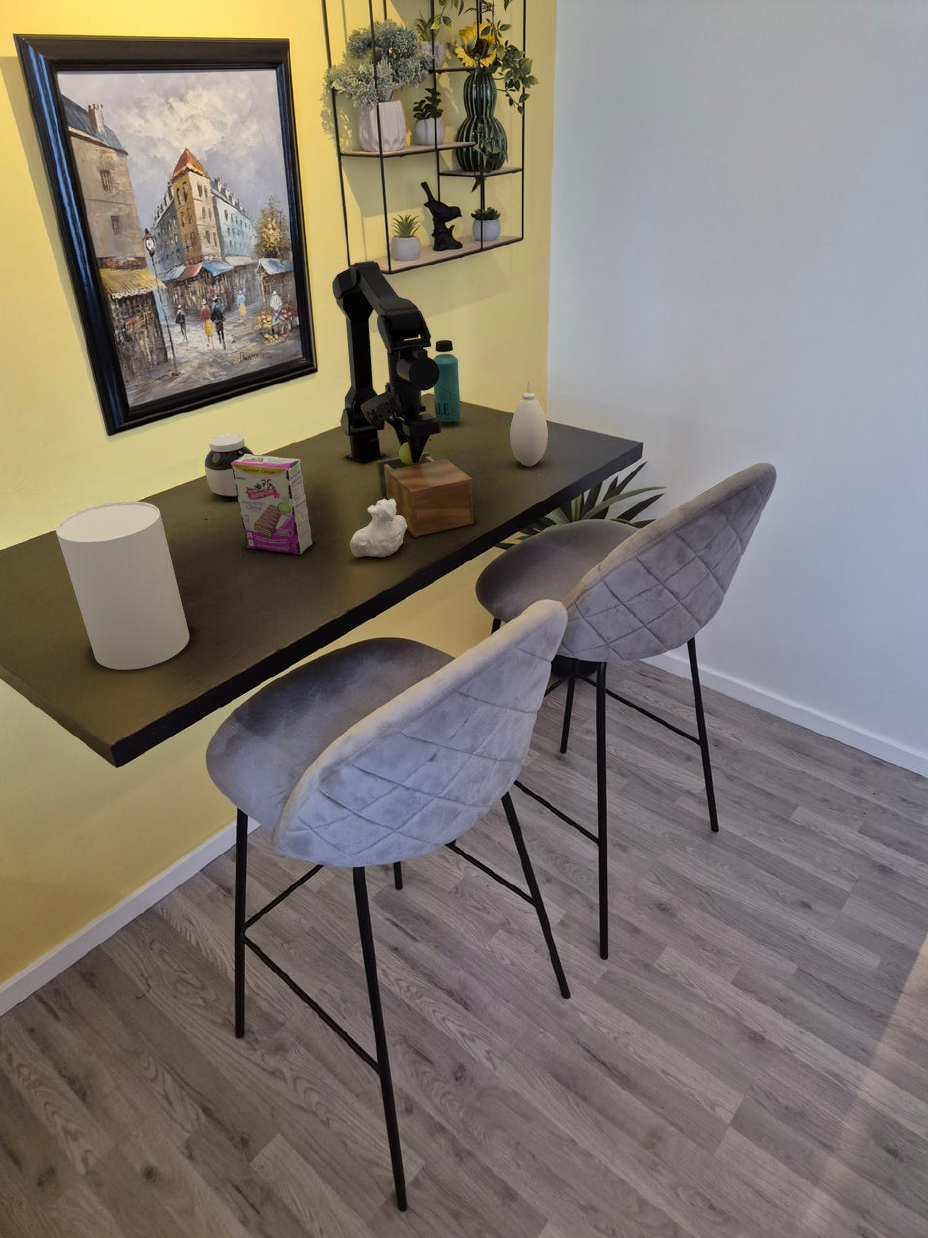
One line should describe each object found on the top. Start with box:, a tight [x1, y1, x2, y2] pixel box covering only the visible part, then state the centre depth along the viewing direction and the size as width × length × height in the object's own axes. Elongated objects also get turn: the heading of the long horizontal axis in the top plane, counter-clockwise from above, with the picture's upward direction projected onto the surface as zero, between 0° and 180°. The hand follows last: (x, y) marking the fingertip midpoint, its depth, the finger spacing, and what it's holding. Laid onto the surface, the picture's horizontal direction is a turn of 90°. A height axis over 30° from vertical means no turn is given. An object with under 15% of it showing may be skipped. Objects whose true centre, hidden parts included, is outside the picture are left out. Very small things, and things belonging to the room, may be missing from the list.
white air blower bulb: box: [509, 380, 549, 467], centre depth 181 cm, size 8×8×18 cm
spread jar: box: [204, 433, 255, 501], centre depth 177 cm, size 12×11×12 cm
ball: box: [398, 442, 422, 465], centre depth 166 cm, size 4×4×4 cm
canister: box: [55, 500, 190, 671], centre depth 123 cm, size 14×14×20 cm
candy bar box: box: [231, 454, 313, 555], centre depth 151 cm, size 11×5×16 cm, turn 71°
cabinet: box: [388, 458, 475, 538], centre depth 161 cm, size 12×12×9 cm
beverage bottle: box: [432, 339, 462, 423], centre depth 207 cm, size 6×7×20 cm
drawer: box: [376, 450, 436, 500], centre depth 169 cm, size 12×11×7 cm
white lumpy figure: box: [349, 498, 407, 558], centre depth 149 cm, size 12×8×11 cm
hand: (411, 459), depth 166 cm, fingers closed on ball, 4 cm apart
